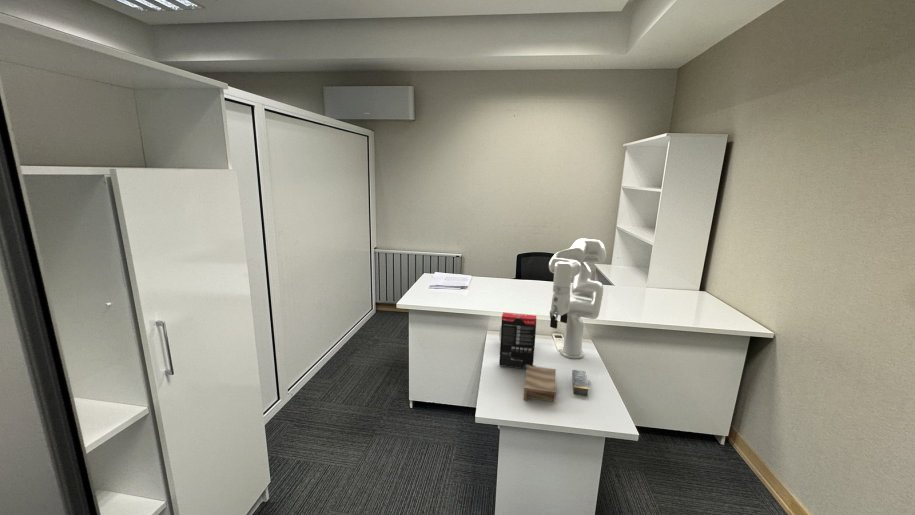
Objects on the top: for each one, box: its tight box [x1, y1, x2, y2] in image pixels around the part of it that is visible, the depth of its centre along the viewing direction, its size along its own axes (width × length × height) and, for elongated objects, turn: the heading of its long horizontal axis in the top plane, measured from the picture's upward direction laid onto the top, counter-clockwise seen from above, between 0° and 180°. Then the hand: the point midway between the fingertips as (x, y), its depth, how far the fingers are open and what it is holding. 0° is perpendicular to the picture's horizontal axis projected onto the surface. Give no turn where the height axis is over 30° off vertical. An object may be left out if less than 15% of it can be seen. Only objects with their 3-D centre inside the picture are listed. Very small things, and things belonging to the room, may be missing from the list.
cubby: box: [523, 365, 557, 402], centre depth 167 cm, size 20×13×6 cm, turn 165°
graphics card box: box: [498, 312, 537, 370], centre depth 187 cm, size 17×7×27 cm, turn 79°
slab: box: [571, 369, 589, 397], centre depth 172 cm, size 16×6×4 cm, turn 165°
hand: (558, 325), depth 172 cm, fingers open, 9 cm apart
